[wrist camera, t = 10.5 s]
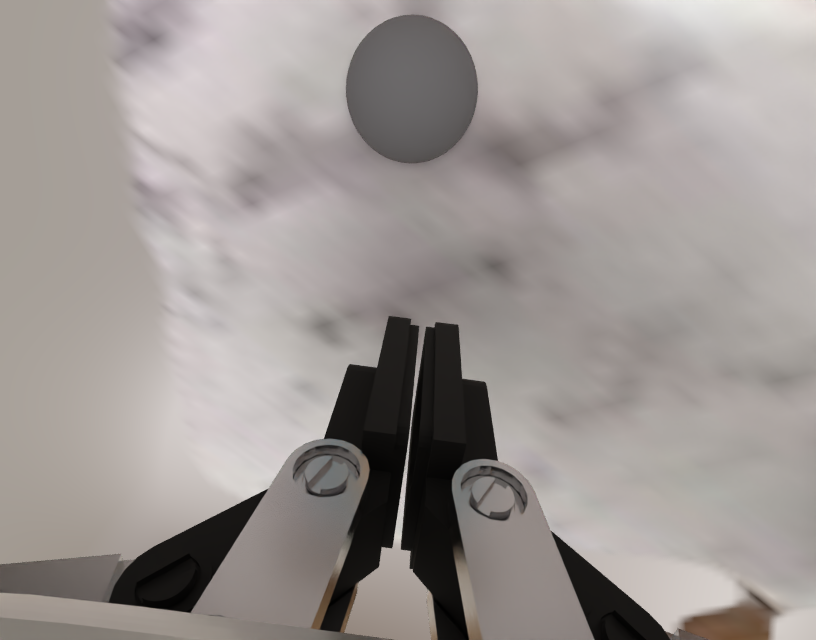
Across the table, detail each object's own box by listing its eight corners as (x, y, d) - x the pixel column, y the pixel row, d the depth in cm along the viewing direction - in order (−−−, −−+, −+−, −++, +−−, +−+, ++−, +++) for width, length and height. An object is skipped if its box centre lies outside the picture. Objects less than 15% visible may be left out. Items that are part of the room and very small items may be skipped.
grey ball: (458, 27, 14) (482, -11, 18) (306, 48, 16) (356, 10, 20) (471, 184, 18) (489, 126, 22) (347, 188, 20) (383, 134, 24)
